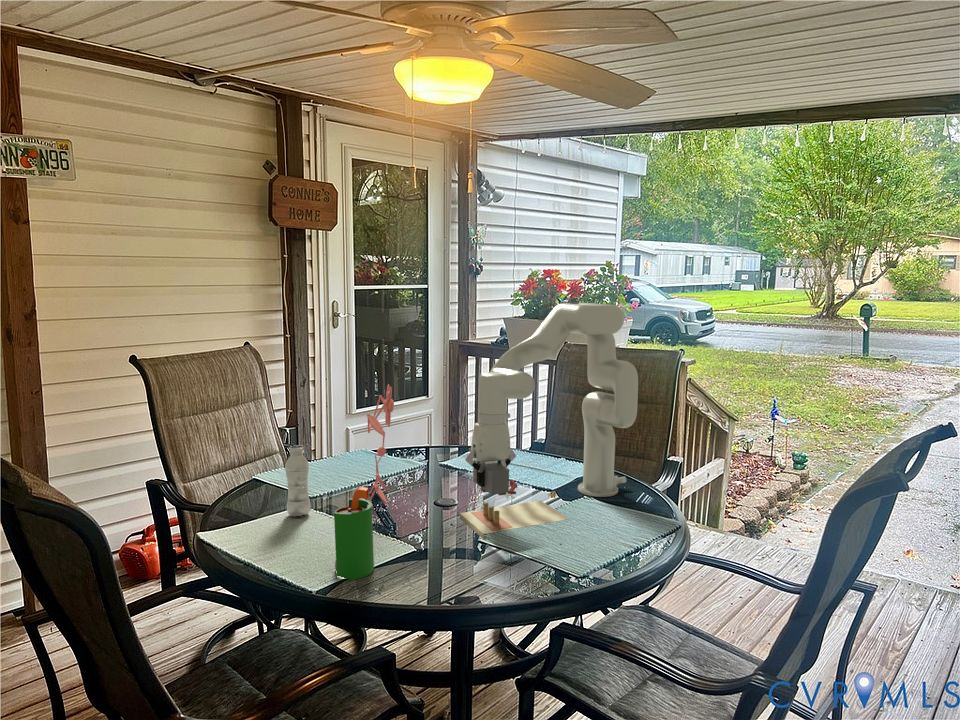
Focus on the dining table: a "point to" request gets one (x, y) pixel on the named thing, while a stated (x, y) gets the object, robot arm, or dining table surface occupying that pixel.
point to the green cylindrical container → (354, 537)
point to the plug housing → (494, 477)
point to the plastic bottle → (297, 482)
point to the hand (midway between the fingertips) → (490, 483)
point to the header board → (510, 517)
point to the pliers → (513, 486)
